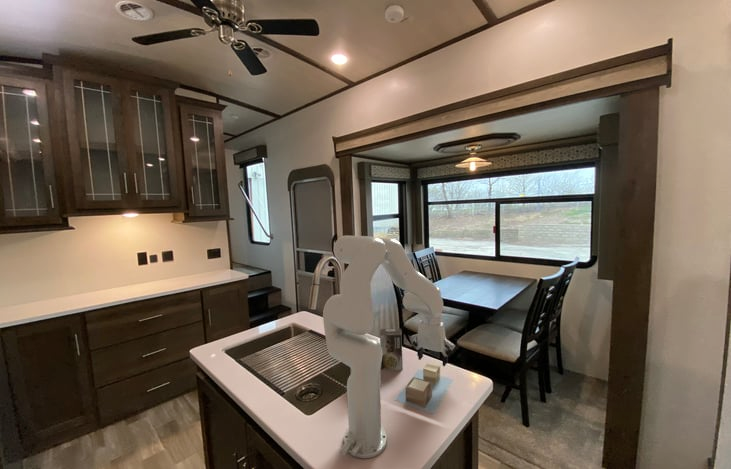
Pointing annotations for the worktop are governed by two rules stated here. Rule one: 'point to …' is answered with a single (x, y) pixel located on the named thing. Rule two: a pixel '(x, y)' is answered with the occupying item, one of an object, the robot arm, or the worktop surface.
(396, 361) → the coffee box
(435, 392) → the board
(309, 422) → the worktop surface
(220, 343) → the worktop surface
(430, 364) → the maple block
